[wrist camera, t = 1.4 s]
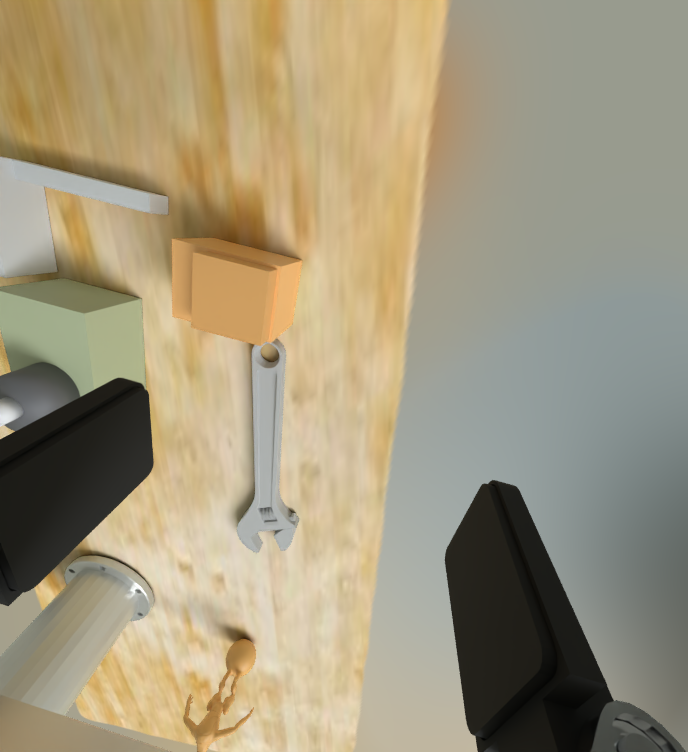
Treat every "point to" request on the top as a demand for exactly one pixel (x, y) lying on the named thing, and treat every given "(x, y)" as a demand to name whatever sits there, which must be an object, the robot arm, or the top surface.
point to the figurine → (237, 665)
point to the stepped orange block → (233, 289)
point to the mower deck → (59, 300)
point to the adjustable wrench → (267, 455)
